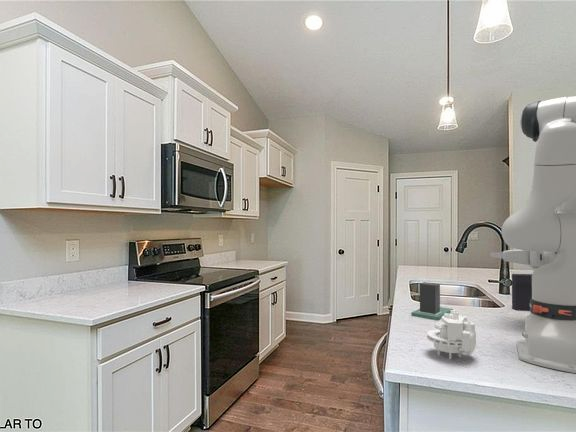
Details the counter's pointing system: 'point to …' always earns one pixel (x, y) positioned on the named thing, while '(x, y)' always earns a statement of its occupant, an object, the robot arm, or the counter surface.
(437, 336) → the mechanical part
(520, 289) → the calculator
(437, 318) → the header board
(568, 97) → the robot arm
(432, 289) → the plug housing
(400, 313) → the counter surface
